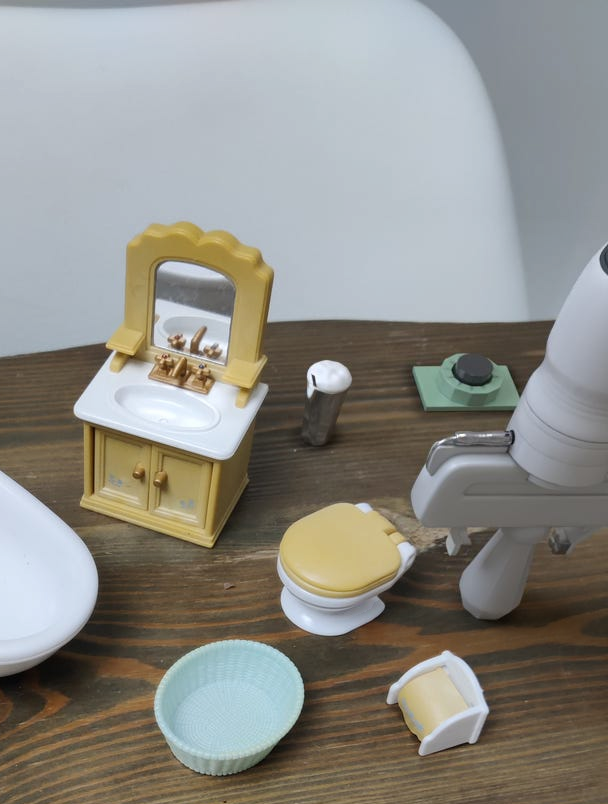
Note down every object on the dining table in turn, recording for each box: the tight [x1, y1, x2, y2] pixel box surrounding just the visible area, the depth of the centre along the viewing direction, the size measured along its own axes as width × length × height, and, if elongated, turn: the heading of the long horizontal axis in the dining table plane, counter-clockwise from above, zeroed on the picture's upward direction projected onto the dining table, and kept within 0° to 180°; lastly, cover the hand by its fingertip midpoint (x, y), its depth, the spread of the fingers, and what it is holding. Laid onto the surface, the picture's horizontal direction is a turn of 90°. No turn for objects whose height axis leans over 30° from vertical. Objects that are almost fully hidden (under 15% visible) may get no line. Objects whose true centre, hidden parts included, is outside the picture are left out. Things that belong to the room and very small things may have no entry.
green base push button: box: [411, 352, 521, 412], centre depth 111 cm, size 11×7×2 cm, turn 92°
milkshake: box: [300, 359, 353, 447], centre depth 103 cm, size 4×5×10 cm
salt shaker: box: [458, 527, 552, 620], centre depth 89 cm, size 6×6×13 cm
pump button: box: [454, 352, 493, 386], centre depth 110 cm, size 4×4×2 cm
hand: (506, 549), depth 88 cm, fingers open, 8 cm apart
